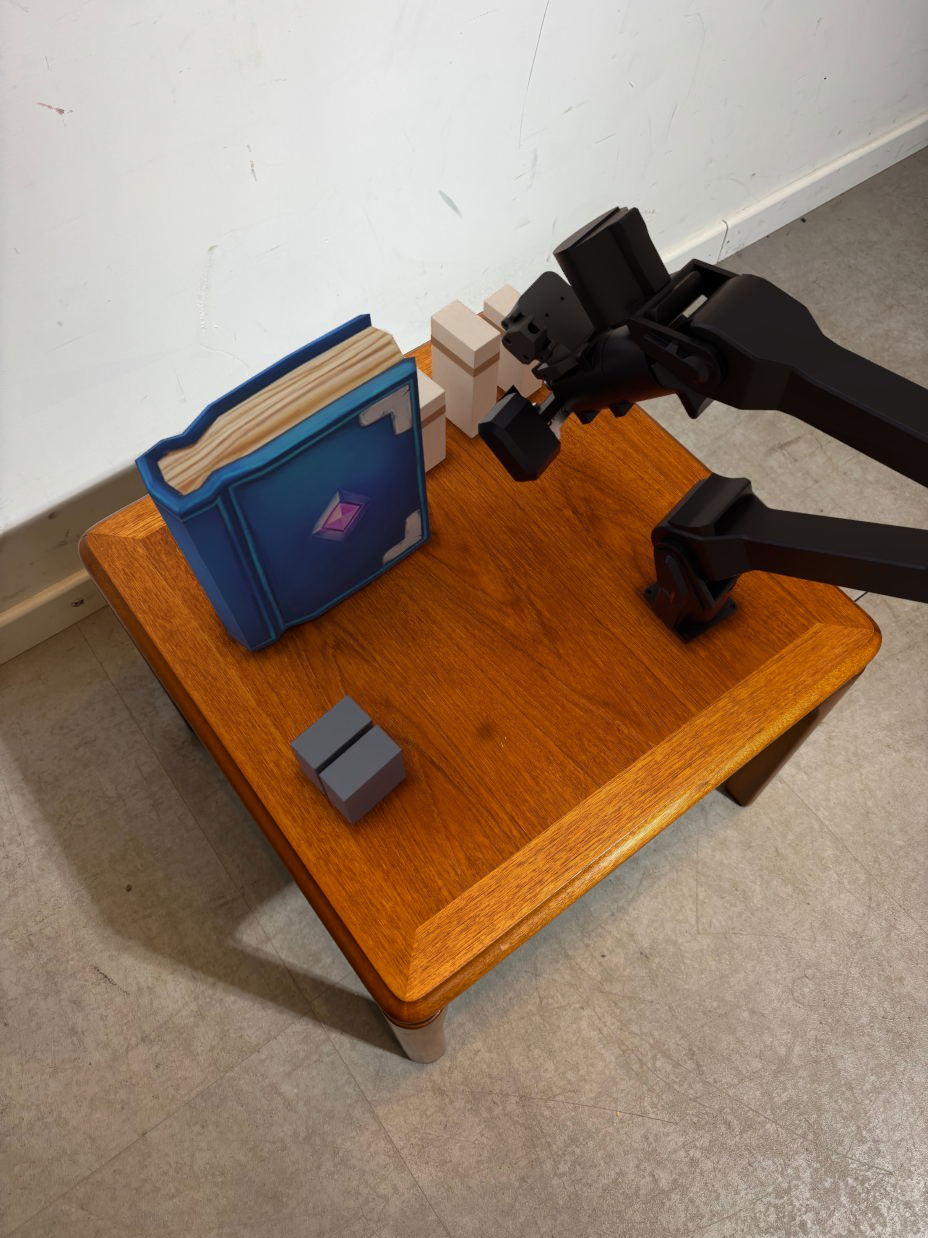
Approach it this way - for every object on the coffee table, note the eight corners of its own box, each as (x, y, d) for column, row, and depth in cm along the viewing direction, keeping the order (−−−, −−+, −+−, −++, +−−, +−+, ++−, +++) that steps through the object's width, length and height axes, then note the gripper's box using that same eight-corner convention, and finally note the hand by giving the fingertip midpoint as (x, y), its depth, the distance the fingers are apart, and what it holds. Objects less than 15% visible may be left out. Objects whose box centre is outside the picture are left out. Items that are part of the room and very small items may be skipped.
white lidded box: (495, 421, 94) (501, 332, 83) (471, 439, 93) (474, 351, 82) (455, 388, 96) (456, 297, 85) (432, 405, 95) (429, 315, 84)
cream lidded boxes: (542, 386, 96) (551, 315, 87) (421, 476, 91) (418, 410, 82) (502, 355, 98) (507, 282, 89) (382, 441, 93) (374, 373, 84)
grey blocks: (355, 725, 78) (347, 694, 72) (406, 777, 76) (402, 749, 70) (302, 771, 76) (289, 743, 70) (352, 826, 74) (344, 802, 68)
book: (246, 671, 80) (168, 513, 58) (204, 616, 83) (114, 445, 61) (435, 542, 87) (429, 356, 65) (390, 495, 90) (371, 300, 67)
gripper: (641, 198, 67) (522, 258, 81) (493, 357, 61) (391, 393, 75) (715, 319, 72) (590, 357, 85) (583, 478, 66) (472, 492, 79)
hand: (513, 396), depth 81 cm, fingers open, 6 cm apart
